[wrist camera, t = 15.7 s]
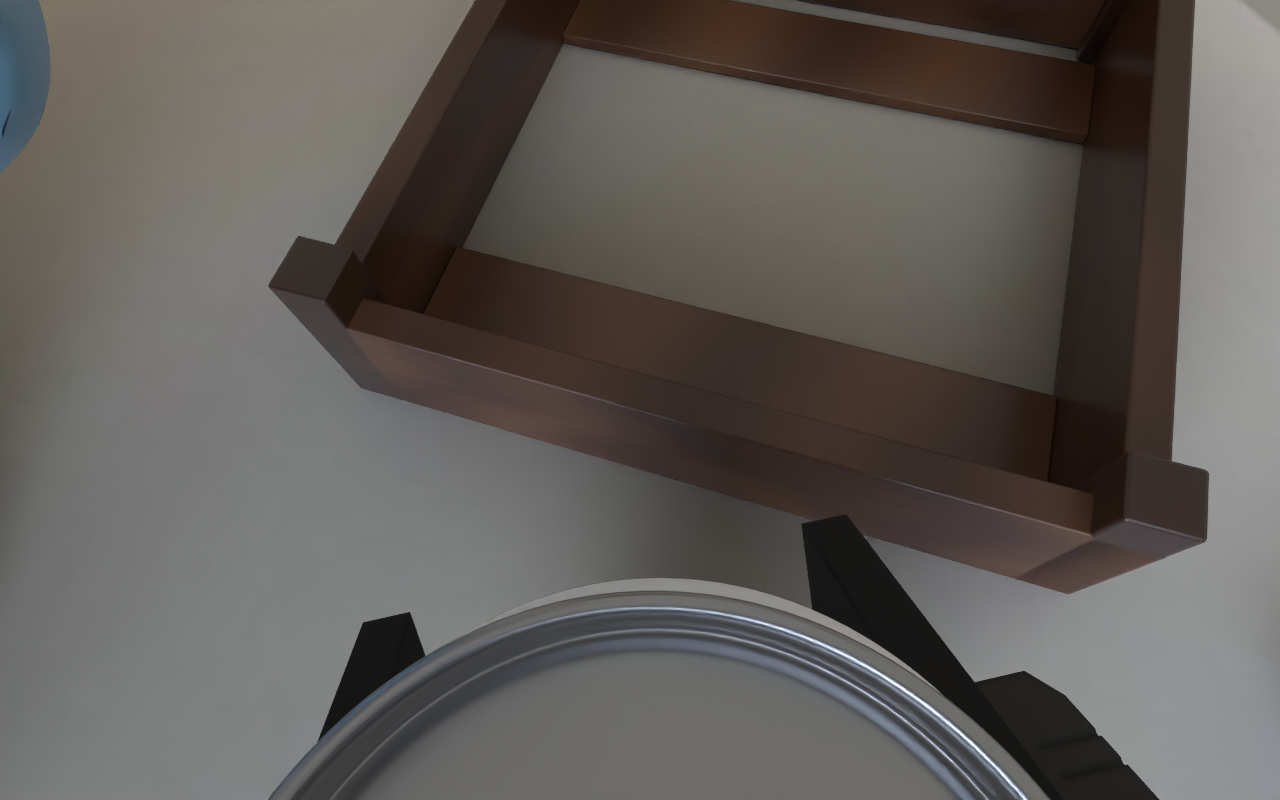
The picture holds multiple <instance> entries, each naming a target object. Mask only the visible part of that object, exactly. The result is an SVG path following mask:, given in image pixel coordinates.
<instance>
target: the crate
mask: <svg viewBox="0 0 1280 800" xmlns="http://www.w3.org/2000/svg"><path fill="white" fill-rule="evenodd" d="M799 1H805V2H811V3H817V4H822V5H828V6H834V7H840V8H845V9H851V10H857V11H863V12H868V13H874V14H880V15H886V16H891V17H897V18H903V19H909V20H914V21H920V22H926V23H932V24H937V25H943V26H949V27H955V28H960V29H966V30H972V31H978V32H983V33H989V34H995V35H1001V36H1006V37H1012V38H1018V39H1024V40H1029V41H1035V42H1041V43H1047V44H1052V45H1058V46H1064V47H1070V48H1075V49H1078V56H1077V60H1080V61H1085V62H1091V63H1093V65H1092V64H1087V63H1081V62H1075V61H1070V60H1064V59H1058V58H1053V57H1047V56H1041V55H1036V54H1030V53H1024V52H1019V51H1013V50H1007V49H1002V48H996V47H990V46H985V45H979V44H973V43H968V42H962V41H956V40H951V39H945V38H939V37H934V36H928V35H923V34H917V33H911V32H906V31H900V30H894V29H889V28H883V27H877V26H872V25H866V24H860V23H855V22H849V21H843V20H838V19H832V18H826V17H821V16H815V15H809V14H804V13H798V12H792V11H787V10H781V9H775V8H770V7H764V6H758V5H753V4H747V3H741V2H736V1H730V0H475V2H474V3H473V5H472V7H471V9H470V10H469V12H468V14H467V16H466V17H465V19H464V21H463V23H462V24H461V26H460V28H459V29H458V31H457V33H456V35H455V36H454V38H453V40H452V42H451V43H450V45H449V47H448V49H447V50H446V52H445V54H444V56H443V57H442V59H441V61H440V63H439V64H438V66H437V68H436V69H435V71H434V73H433V75H432V76H431V78H430V80H429V82H428V83H427V85H426V87H425V89H424V90H423V92H422V94H421V96H420V97H419V99H418V101H417V102H416V104H415V106H414V108H413V109H412V111H411V113H410V115H409V116H408V118H407V120H406V122H405V123H404V125H403V127H402V129H401V130H400V132H399V134H398V136H397V137H396V139H395V141H394V142H393V144H392V146H391V148H390V149H389V151H388V153H387V155H386V156H385V158H384V160H383V162H382V163H381V165H380V167H379V169H378V170H377V172H376V174H375V176H374V177H373V179H372V181H371V182H370V184H369V186H368V188H367V189H366V191H365V193H364V195H363V196H362V198H361V200H360V202H359V203H358V205H357V207H356V209H355V210H354V212H353V214H352V215H351V217H350V219H349V221H348V222H347V224H346V226H345V228H344V229H343V231H342V233H341V235H340V236H339V238H338V240H337V242H336V243H335V245H333V244H329V243H325V242H321V241H317V240H313V239H309V238H305V237H301V236H298V237H297V238H296V240H295V242H294V243H293V245H292V247H291V248H290V250H289V252H288V253H287V255H286V257H285V258H284V260H283V262H282V263H281V265H280V267H279V268H278V270H277V272H276V273H275V275H274V277H273V278H272V280H271V282H270V283H269V288H270V289H271V290H272V291H273V292H274V293H275V294H276V296H277V297H278V298H279V299H280V300H281V301H282V302H283V303H284V304H285V305H286V306H287V308H288V309H289V310H290V311H291V312H292V313H293V314H294V315H295V316H296V317H297V318H298V320H299V321H300V322H301V323H302V324H303V325H304V326H305V327H306V328H307V329H308V331H309V332H310V333H311V334H312V335H313V336H314V337H315V338H316V339H317V340H318V341H319V343H320V344H321V345H322V346H323V347H324V348H325V349H326V350H327V351H328V352H329V353H330V355H331V356H332V357H333V358H334V359H335V360H336V361H337V362H338V363H339V364H340V365H341V367H342V368H343V369H344V370H345V371H346V372H347V373H348V374H349V375H350V376H351V377H352V379H353V380H354V381H355V382H356V383H357V384H358V385H359V386H360V387H361V388H363V389H367V390H370V391H373V392H377V393H380V394H384V395H387V396H391V397H394V398H397V399H401V400H405V401H408V402H412V403H415V404H419V405H422V406H426V407H429V408H432V409H436V410H439V411H443V412H446V413H450V414H453V415H456V416H460V417H463V418H467V419H470V420H474V421H477V422H480V423H484V424H487V425H491V426H494V427H498V428H501V429H504V430H508V431H511V432H515V433H518V434H522V435H525V436H528V437H532V438H535V439H539V440H542V441H545V442H549V443H552V444H556V445H559V446H563V447H566V448H569V449H573V450H576V451H580V452H583V453H587V454H590V455H593V456H597V457H600V458H604V459H607V460H611V461H614V462H617V463H621V464H624V465H628V466H631V467H635V468H638V469H641V470H645V471H648V472H652V473H655V474H659V475H662V476H665V477H669V478H672V479H676V480H679V481H683V482H686V483H689V484H693V485H696V486H700V487H703V488H707V489H710V490H713V491H717V492H720V493H724V494H727V495H731V496H734V497H737V498H741V499H744V500H748V501H751V502H755V503H758V504H761V505H765V506H768V507H772V508H775V509H778V510H782V511H785V512H789V513H792V514H796V515H799V516H802V517H806V518H809V519H813V520H816V521H817V520H822V519H826V518H831V517H835V516H839V515H844V514H847V516H848V517H849V518H850V520H851V521H852V522H853V523H854V525H855V526H856V527H857V529H858V530H859V531H860V533H861V534H864V535H868V536H871V537H874V538H878V539H881V540H885V541H888V542H892V543H895V544H898V545H902V546H905V547H909V548H912V549H916V550H919V551H922V552H926V553H929V554H933V555H936V556H940V557H943V558H946V559H950V560H953V561H957V562H960V563H964V564H967V565H970V566H974V567H977V568H981V569H984V570H988V571H991V572H994V573H998V574H1001V575H1005V576H1008V577H1011V578H1015V579H1018V580H1022V581H1025V582H1029V583H1032V584H1035V585H1039V586H1042V587H1046V588H1049V589H1053V590H1056V591H1059V592H1063V593H1066V594H1071V593H1073V592H1076V591H1079V590H1081V589H1084V588H1087V587H1089V586H1092V585H1095V584H1097V583H1100V582H1103V581H1105V580H1108V579H1110V578H1113V577H1116V576H1118V575H1121V574H1124V573H1126V572H1129V571H1132V570H1134V569H1137V568H1140V567H1142V566H1145V565H1148V564H1150V563H1153V562H1156V561H1158V560H1161V559H1163V558H1166V557H1167V556H1170V555H1173V554H1175V553H1178V552H1180V551H1183V550H1186V549H1188V548H1191V547H1194V546H1196V545H1199V544H1202V543H1204V542H1205V541H1206V539H1207V519H1208V486H1209V473H1208V471H1206V470H1203V469H1200V468H1196V467H1192V466H1188V465H1184V464H1180V463H1176V462H1172V442H1173V422H1174V402H1175V383H1176V363H1177V343H1178V324H1179V304H1180V284H1181V265H1182V245H1183V225H1184V206H1185V186H1186V166H1187V147H1188V127H1189V107H1190V88H1191V68H1192V48H1193V29H1194V9H1195V0H799ZM563 42H564V43H565V44H570V45H575V46H580V47H585V48H590V49H596V50H601V51H606V52H611V53H616V54H621V55H626V56H632V57H637V58H642V59H647V60H652V61H657V62H663V63H668V64H673V65H678V66H683V67H688V68H693V69H699V70H704V71H709V72H714V73H719V74H724V75H729V76H735V77H740V78H745V79H750V80H755V81H760V82H766V83H771V84H776V85H781V86H786V87H791V88H796V89H802V90H807V91H812V92H817V93H822V94H827V95H832V96H838V97H843V98H848V99H853V100H858V101H863V102H868V103H874V104H879V105H884V106H889V107H894V108H899V109H905V110H910V111H915V112H920V113H925V114H930V115H935V116H941V117H946V118H951V119H956V120H961V121H966V122H971V123H977V124H982V125H987V126H992V127H997V128H1002V129H1007V130H1013V131H1018V132H1023V133H1028V134H1033V135H1038V136H1044V137H1049V138H1054V139H1059V140H1064V141H1069V142H1074V143H1080V144H1082V143H1083V142H1084V147H1083V155H1082V164H1081V172H1080V181H1079V189H1078V197H1077V206H1076V214H1075V223H1074V231H1073V239H1072V248H1071V256H1070V264H1069V273H1068V281H1067V290H1066V298H1065V306H1064V315H1063V323H1062V331H1061V340H1060V348H1059V357H1058V365H1057V373H1056V382H1055V390H1054V396H1051V395H1047V394H1043V393H1039V392H1035V391H1031V390H1027V389H1023V388H1019V387H1015V386H1011V385H1007V384H1003V383H999V382H995V381H991V380H987V379H983V378H979V377H975V376H971V375H967V374H963V373H959V372H955V371H951V370H947V369H943V368H939V367H935V366H931V365H927V364H923V363H919V362H915V361H911V360H907V359H903V358H899V357H895V356H891V355H887V354H883V353H879V352H875V351H871V350H867V349H863V348H859V347H855V346H851V345H847V344H843V343H839V342H835V341H831V340H827V339H823V338H819V337H815V336H811V335H807V334H803V333H799V332H795V331H791V330H787V329H783V328H779V327H775V326H771V325H767V324H763V323H759V322H755V321H751V320H747V319H743V318H739V317H735V316H731V315H727V314H723V313H719V312H715V311H711V310H707V309H703V308H699V307H695V306H691V305H687V304H683V303H679V302H675V301H671V300H667V299H663V298H659V297H655V296H651V295H647V294H643V293H639V292H635V291H631V290H627V289H623V288H619V287H615V286H611V285H607V284H603V283H599V282H595V281H591V280H587V279H583V278H579V277H575V276H571V275H567V274H563V273H559V272H555V271H551V270H547V269H543V268H539V267H535V266H531V265H527V264H523V263H519V262H515V261H511V260H507V259H503V258H499V257H495V256H491V255H487V254H483V253H479V252H475V251H471V250H467V249H463V248H462V246H463V244H464V242H465V240H466V238H467V236H468V234H469V232H470V230H471V228H472V226H473V224H474V222H475V220H476V218H477V216H478V214H479V212H480V210H481V208H482V206H483V204H484V202H485V200H486V198H487V196H488V194H489V192H490V190H491V188H492V186H493V184H494V181H495V179H496V177H497V175H498V173H499V171H500V169H501V167H502V165H503V163H504V161H505V159H506V157H507V155H508V153H509V151H510V149H511V147H512V145H513V143H514V141H515V139H516V137H517V135H518V133H519V131H520V129H521V127H522V125H523V123H524V121H525V119H526V117H527V115H528V113H529V111H530V109H531V107H532V105H533V103H534V101H535V99H536V97H537V95H538V93H539V91H540V89H541V87H542V85H543V83H544V81H545V79H546V77H547V75H548V73H549V71H550V69H551V67H552V65H553V62H554V60H555V58H556V56H557V54H558V52H559V50H560V48H561V46H562V44H563Z"/></svg>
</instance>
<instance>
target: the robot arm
mask: <svg viewBox="0 0 1280 800" xmlns="http://www.w3.org/2000/svg"><path fill="white" fill-rule="evenodd" d="M49 82H50V53H49V44H48V38H47V32H46V27H45V21H44V17H43V14H42V11H41V7H40V4H39V0H0V172H1V171H2V170H3V169H5V168H6V167H7V166H8V165H9V164H10V163H11V162H12V161H13V160H14V159H15V158H16V157H17V156H18V154H19V153H20V152H21V151H22V149H23V148H24V147H25V145H26V144H27V143H28V141H29V140H30V138H31V137H32V135H33V134H34V132H35V130H36V128H37V126H38V124H39V122H40V119H41V117H42V114H43V111H44V108H45V103H46V99H47V95H48V90H49ZM802 532H803V540H804V548H805V555H806V563H807V571H808V579H809V586H810V594H811V602H812V610H814V611H816V612H818V613H820V614H823V615H825V616H827V617H829V618H831V619H833V620H835V621H837V622H839V623H841V624H843V625H845V626H847V627H849V628H851V629H852V630H854V631H856V632H858V633H859V634H861V635H863V636H865V637H866V638H868V639H869V640H871V641H873V642H874V643H876V644H877V645H879V646H881V647H882V648H884V649H885V650H887V651H888V652H889V653H891V654H892V655H894V656H895V657H897V658H898V659H900V660H901V661H902V662H903V663H905V664H906V665H907V666H909V667H910V668H911V669H913V670H914V671H915V672H917V673H918V674H919V675H920V676H922V677H923V678H924V679H925V680H926V681H928V682H929V683H930V684H931V685H932V686H934V687H935V688H936V689H937V690H938V691H939V692H940V693H941V694H942V695H944V696H945V697H946V698H947V699H948V700H950V701H951V702H952V703H954V704H955V705H956V706H957V707H958V708H960V709H961V710H962V711H963V712H964V713H966V714H967V715H968V716H969V717H970V718H972V719H973V720H974V721H975V722H976V723H977V724H978V725H979V726H980V727H982V728H983V729H984V730H985V731H986V732H987V733H988V734H989V735H990V736H991V737H992V738H993V739H994V740H996V741H997V742H998V743H999V744H1000V745H1001V746H1002V747H1003V748H1004V749H1005V750H1006V751H1007V752H1008V753H1009V754H1010V755H1011V756H1012V757H1013V758H1014V759H1015V761H1016V762H1017V763H1018V764H1019V765H1020V766H1021V767H1022V768H1023V769H1024V770H1025V771H1026V772H1027V773H1028V774H1029V775H1030V777H1031V778H1032V779H1033V780H1034V781H1035V782H1036V784H1037V785H1038V786H1039V787H1040V788H1041V789H1042V790H1043V792H1044V793H1045V794H1046V795H1047V796H1048V797H1049V799H1050V800H1159V799H1158V798H1157V797H1156V795H1155V794H1154V793H1153V792H1152V791H1151V790H1150V789H1149V788H1148V787H1147V785H1146V784H1145V783H1144V782H1143V781H1142V780H1141V779H1140V778H1139V777H1138V776H1137V774H1136V773H1135V772H1134V771H1133V770H1132V769H1131V768H1130V767H1129V766H1128V765H1124V764H1123V762H1122V760H1121V757H1120V756H1119V755H1118V753H1117V752H1116V751H1115V750H1114V749H1113V748H1112V747H1111V746H1110V745H1109V743H1108V742H1107V741H1106V740H1105V739H1104V738H1103V737H1102V736H1098V735H1097V733H1096V730H1095V728H1094V727H1093V726H1092V725H1091V724H1090V722H1089V721H1088V720H1087V719H1086V718H1085V717H1084V716H1083V715H1082V714H1081V712H1080V711H1079V710H1078V709H1077V708H1076V707H1075V706H1074V705H1073V704H1072V703H1071V701H1070V700H1069V699H1068V698H1067V697H1066V696H1065V695H1064V694H1062V693H1060V692H1059V691H1057V690H1055V689H1054V688H1052V687H1050V686H1049V685H1047V684H1045V683H1044V682H1042V681H1040V680H1039V679H1037V678H1035V677H1034V676H1032V675H1030V674H1029V673H1027V672H1025V671H1021V672H1017V673H1013V674H1009V675H1004V676H1000V677H996V678H991V679H987V680H983V681H979V682H974V681H973V680H972V678H971V677H970V676H969V674H968V673H967V672H966V671H965V669H964V668H963V667H962V665H961V664H960V663H959V661H958V660H957V659H956V657H955V656H954V655H953V653H952V652H951V651H950V650H949V648H948V647H947V646H946V644H945V643H944V642H943V640H942V639H941V638H940V636H939V635H938V634H937V632H936V631H935V630H934V629H933V627H932V626H931V625H930V623H929V622H928V621H927V619H926V618H925V617H924V615H923V614H922V613H921V611H920V610H919V609H918V608H917V606H916V605H915V604H914V602H913V601H912V600H911V598H910V597H909V596H908V594H907V593H906V592H905V590H904V589H903V588H902V587H901V585H900V584H899V583H898V581H897V580H896V579H895V577H894V576H893V575H892V573H891V572H890V571H889V569H888V568H887V567H886V565H885V564H884V563H883V562H882V560H881V559H880V558H879V556H878V555H877V554H876V552H875V551H874V550H873V548H872V547H871V546H870V544H869V543H868V542H867V541H866V539H865V538H864V537H863V535H862V534H861V533H860V531H859V530H858V529H857V527H856V526H855V525H854V523H853V522H852V521H851V520H850V518H849V517H848V516H847V514H844V515H839V516H835V517H831V518H826V519H822V520H817V521H813V522H808V523H804V524H802ZM423 657H425V653H424V650H423V647H422V645H421V642H420V639H419V636H418V633H417V631H416V628H415V625H414V622H413V619H412V617H411V614H410V612H408V613H403V614H399V615H395V616H390V617H386V618H381V619H377V620H372V621H368V622H363V624H362V627H361V629H360V632H359V635H358V637H357V640H356V642H355V645H354V648H353V650H352V653H351V656H350V658H349V661H348V663H347V666H346V669H345V671H344V674H343V677H342V679H341V682H340V684H339V687H338V690H337V692H336V695H335V698H334V700H333V703H332V705H331V708H330V711H329V713H328V716H327V718H326V721H325V724H324V726H323V729H322V732H321V734H320V737H319V739H318V741H319V740H320V739H321V738H322V737H323V736H324V735H325V734H326V733H327V732H328V731H329V730H330V729H332V728H333V727H334V726H335V725H336V724H337V723H338V722H339V721H340V720H341V719H342V718H343V717H344V716H346V715H347V714H348V713H349V712H350V711H351V710H352V709H354V708H355V707H356V706H357V705H358V704H359V703H360V702H362V701H363V700H364V699H365V698H367V697H368V696H369V695H370V694H372V693H373V692H374V691H375V690H377V689H378V688H379V687H381V686H382V685H383V684H385V683H386V682H388V681H389V680H390V679H392V678H393V677H394V676H396V675H397V674H399V673H400V672H402V671H403V670H405V669H406V668H408V667H409V666H411V665H412V664H414V663H415V662H417V661H418V660H420V659H422V658H423Z"/></svg>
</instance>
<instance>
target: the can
mask: <svg viewBox="0 0 1280 800" xmlns="http://www.w3.org/2000/svg"><path fill="white" fill-rule="evenodd" d="M268 800H1050V799H1049V797H1048V796H1047V795H1046V794H1045V793H1044V792H1043V790H1042V789H1041V788H1040V787H1039V786H1038V785H1037V784H1036V782H1035V781H1034V780H1033V779H1032V778H1031V777H1030V775H1029V774H1028V773H1027V772H1026V771H1025V770H1024V769H1023V768H1022V767H1021V766H1020V765H1019V764H1018V763H1017V762H1016V761H1015V759H1014V758H1013V757H1012V756H1011V755H1010V754H1009V753H1008V752H1007V751H1006V750H1005V749H1004V748H1003V747H1002V746H1001V745H1000V744H999V743H998V742H997V741H996V740H994V739H993V738H992V737H991V736H990V735H989V734H988V733H987V732H986V731H985V730H984V729H983V728H982V727H980V726H979V725H978V724H977V723H976V722H975V721H974V720H973V719H972V718H970V717H969V716H968V715H967V714H966V713H964V712H963V711H962V710H961V709H960V708H958V707H957V706H956V705H955V704H954V703H952V702H951V701H950V700H948V699H947V698H946V697H945V696H944V695H942V694H941V693H940V692H939V691H938V690H937V689H936V688H935V687H934V686H932V685H931V684H930V683H929V682H928V681H926V680H925V679H924V678H923V677H922V676H920V675H919V674H918V673H917V672H915V671H914V670H913V669H911V668H910V667H909V666H907V665H906V664H905V663H903V662H902V661H901V660H900V659H898V658H897V657H895V656H894V655H892V654H891V653H889V652H888V651H887V650H885V649H884V648H882V647H881V646H879V645H877V644H876V643H874V642H873V641H871V640H869V639H868V638H866V637H865V636H863V635H861V634H859V633H858V632H856V631H854V630H852V629H851V628H849V627H847V626H845V625H843V624H841V623H839V622H837V621H835V620H833V619H831V618H829V617H827V616H825V615H823V614H820V613H818V612H816V611H814V610H812V609H809V608H807V607H804V606H802V605H799V604H797V603H794V602H791V601H788V600H785V599H782V598H780V597H777V596H773V595H770V594H767V593H763V592H760V591H756V590H752V589H748V588H744V587H739V586H734V585H729V584H724V583H717V582H710V581H703V580H692V579H677V578H643V579H628V580H618V581H610V582H604V583H597V584H592V585H587V586H582V587H577V588H573V589H569V590H566V591H562V592H558V593H555V594H551V595H548V596H545V597H542V598H539V599H536V600H534V601H531V602H528V603H525V604H523V605H520V606H518V607H516V608H513V609H511V610H508V611H506V612H504V613H502V614H500V615H498V616H496V617H494V618H491V619H489V620H487V621H486V622H484V623H482V624H480V625H478V626H476V627H474V628H473V629H471V630H469V631H467V632H466V633H464V634H462V635H461V636H459V637H457V638H456V639H454V640H453V641H451V642H450V643H448V644H446V645H444V646H442V647H440V648H439V649H437V650H435V651H433V652H432V653H430V654H428V655H427V656H425V657H423V658H422V659H420V660H418V661H417V662H415V663H414V664H412V665H411V666H409V667H408V668H406V669H405V670H403V671H402V672H400V673H399V674H397V675H396V676H394V677H393V678H392V679H390V680H389V681H388V682H386V683H385V684H383V685H382V686H381V687H379V688H378V689H377V690H375V691H374V692H373V693H372V694H370V695H369V696H368V697H367V698H365V699H364V700H363V701H362V702H360V703H359V704H358V705H357V706H356V707H355V708H354V709H352V710H351V711H350V712H349V713H348V714H347V715H346V716H344V717H343V718H342V719H341V720H340V721H339V722H338V723H337V724H336V725H335V726H334V727H333V728H332V729H330V730H329V731H328V732H327V733H326V734H325V735H324V736H323V737H322V738H321V739H320V740H319V741H318V742H317V743H316V744H315V745H314V746H313V747H312V749H311V750H310V751H309V752H308V753H307V754H306V755H305V756H304V757H303V758H302V759H301V760H300V762H299V763H298V764H297V765H296V766H295V767H294V768H293V769H292V770H291V772H290V773H289V774H288V775H287V776H286V778H285V779H284V780H283V781H282V782H281V784H280V785H279V786H278V787H277V788H276V790H275V791H274V792H273V793H272V795H271V796H270V797H269V799H268Z"/></svg>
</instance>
